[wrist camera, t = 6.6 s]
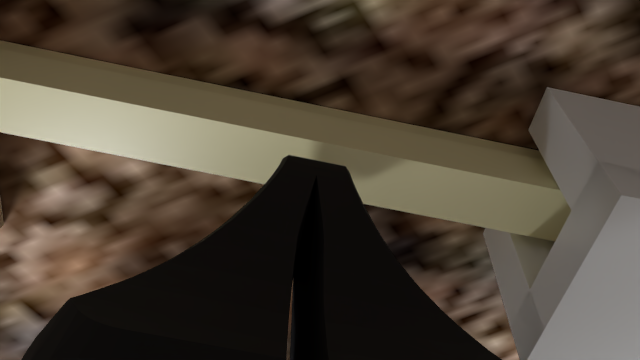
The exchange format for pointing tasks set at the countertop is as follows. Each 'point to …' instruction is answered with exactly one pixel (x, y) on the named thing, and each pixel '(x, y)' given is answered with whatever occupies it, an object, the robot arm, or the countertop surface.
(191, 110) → the pale yellow bar
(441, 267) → the countertop surface
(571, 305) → the sleeve
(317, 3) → the countertop surface
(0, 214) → the comb
